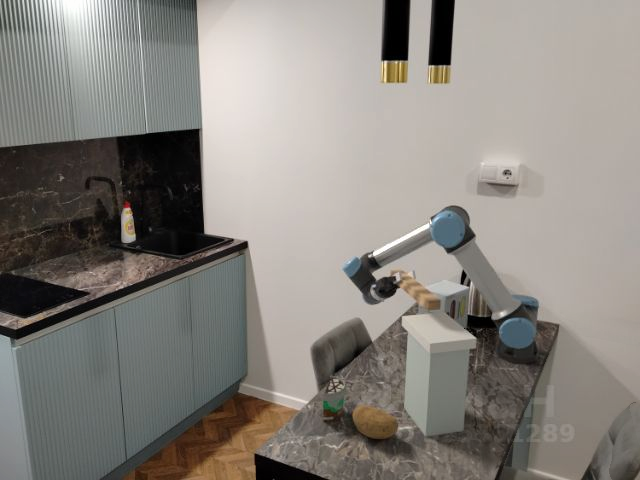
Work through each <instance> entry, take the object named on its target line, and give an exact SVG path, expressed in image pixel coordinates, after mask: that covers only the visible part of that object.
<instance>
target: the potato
mask: <svg viewBox="0 0 640 480" xmlns="http://www.w3.org/2000/svg"><path fill="white" fill-rule="evenodd" d="M352 421H353V423H354V425H355V427H356V429H357V431H358V432H359V433H361V434H362V435H363V436H366V437H368V438H370V439H374V440H384V439H388V438H390V437H392V436H394V435H395V434H397V431H398V430H399V422H398V421H397V419H396V418H395V417H394V416H393V415H392V414H390V413H387V412H386V411H384V410H382V409H379V408H376V407H374V406H370V405H367V404H362V405H359V406H357V407H356V408H355V409H354V410H353V411H352Z"/></svg>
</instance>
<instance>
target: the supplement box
mask: <svg viewBox="0 0 640 480" xmlns="http://www.w3.org/2000/svg"><path fill="white" fill-rule="evenodd" d="M424 287H425V288H426V289H427V290H429V291H430V292H431V293H433V294H434V295H435V296H436V297H438V298H439V299H440V300H441V306H440V310H430V311H428V310H426V309H425V308H424V307H423V306H422V305H420V304H419V303H418V312H417V313H418V314H417V315H420V314H430V313H440V312H445V313H446V314H447V315H448V316H450V317H451V318H452V319H453V320H455V321H456V322H457V323H458V324H460V325H461V326H462V327H463V328H465V329H467V326H468V313H469V303H470V302H469V301H470V300H469V299H470V286H466V285H463V284H460V283H457V282H453V281H450V280H447V279H443V280H439V281H437V282H434V283H430V284H427V285H425V286H424Z"/></svg>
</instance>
